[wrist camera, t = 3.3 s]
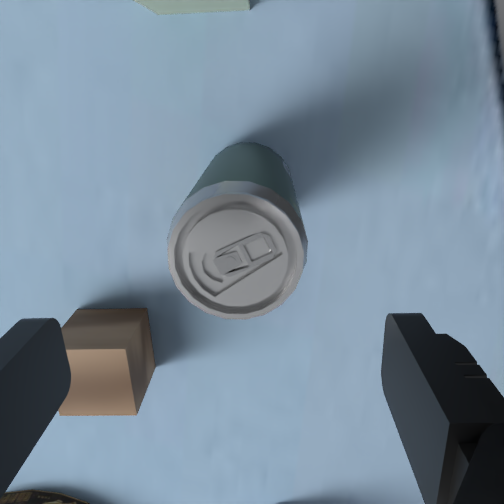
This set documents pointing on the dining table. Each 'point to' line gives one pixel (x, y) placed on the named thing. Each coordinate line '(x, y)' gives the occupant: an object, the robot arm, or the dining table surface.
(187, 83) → the dining table surface
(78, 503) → the round wood slice
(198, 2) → the sage block
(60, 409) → the walnut block
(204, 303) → the beer can
